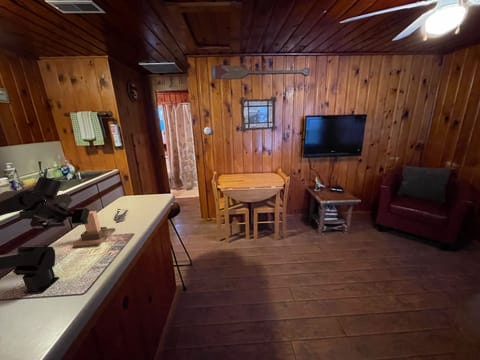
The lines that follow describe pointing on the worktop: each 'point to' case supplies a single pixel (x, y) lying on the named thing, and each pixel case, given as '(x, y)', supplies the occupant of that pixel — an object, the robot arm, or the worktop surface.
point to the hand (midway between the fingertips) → (75, 224)
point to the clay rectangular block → (92, 223)
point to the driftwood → (119, 216)
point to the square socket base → (94, 238)
